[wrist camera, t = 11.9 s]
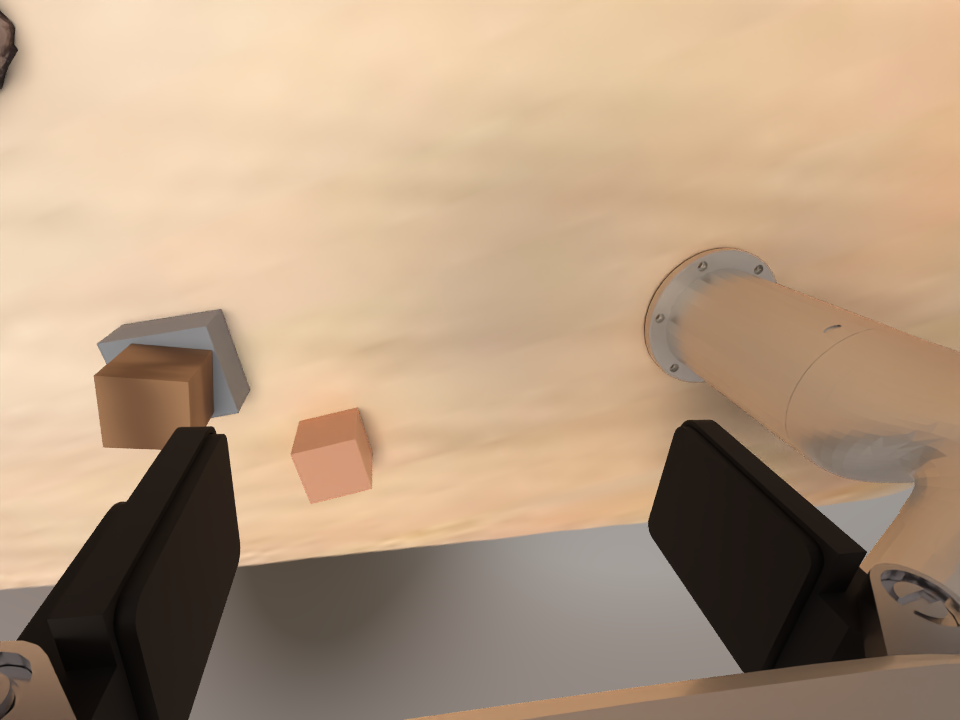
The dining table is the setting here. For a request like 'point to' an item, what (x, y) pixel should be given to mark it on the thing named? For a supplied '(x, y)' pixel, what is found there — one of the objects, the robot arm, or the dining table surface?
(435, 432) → the dining table surface
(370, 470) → the terracotta cube
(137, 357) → the walnut cube
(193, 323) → the blue-grey square box
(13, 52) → the geode
